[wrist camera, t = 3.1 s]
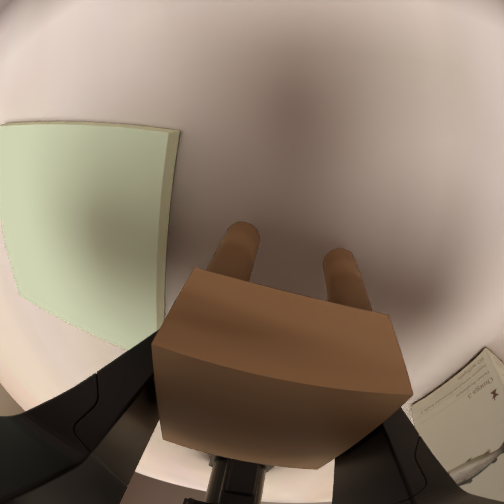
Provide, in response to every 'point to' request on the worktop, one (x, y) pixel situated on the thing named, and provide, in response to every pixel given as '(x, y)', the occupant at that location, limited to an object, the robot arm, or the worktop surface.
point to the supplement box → (468, 426)
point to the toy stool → (274, 363)
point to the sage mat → (89, 222)
